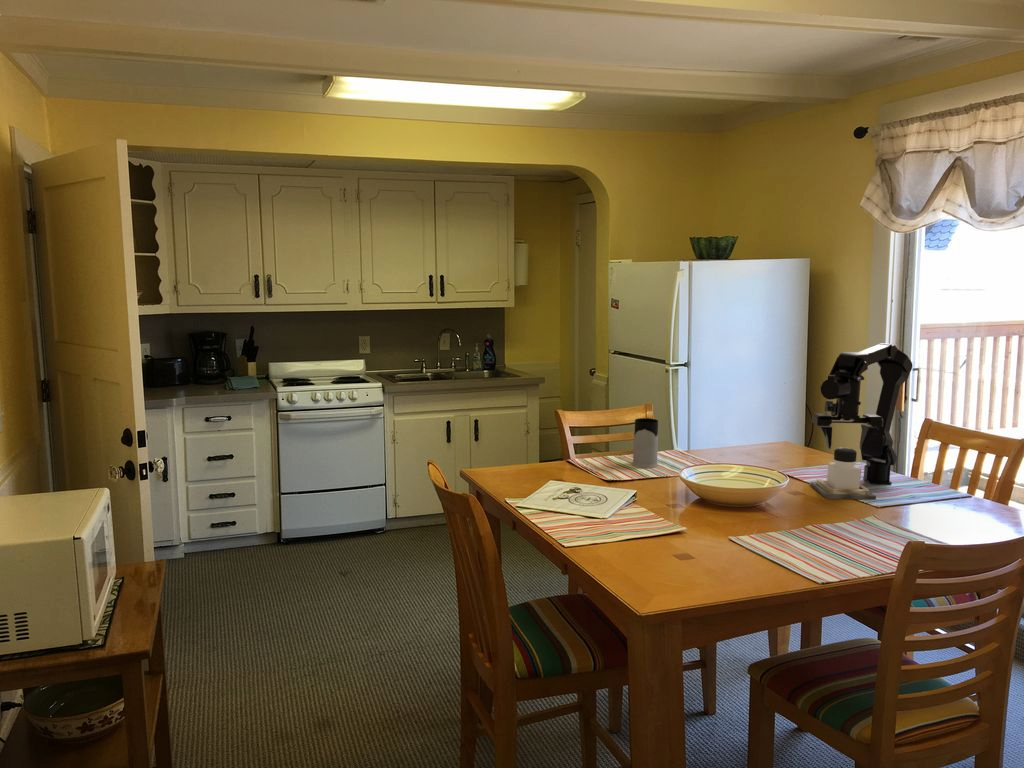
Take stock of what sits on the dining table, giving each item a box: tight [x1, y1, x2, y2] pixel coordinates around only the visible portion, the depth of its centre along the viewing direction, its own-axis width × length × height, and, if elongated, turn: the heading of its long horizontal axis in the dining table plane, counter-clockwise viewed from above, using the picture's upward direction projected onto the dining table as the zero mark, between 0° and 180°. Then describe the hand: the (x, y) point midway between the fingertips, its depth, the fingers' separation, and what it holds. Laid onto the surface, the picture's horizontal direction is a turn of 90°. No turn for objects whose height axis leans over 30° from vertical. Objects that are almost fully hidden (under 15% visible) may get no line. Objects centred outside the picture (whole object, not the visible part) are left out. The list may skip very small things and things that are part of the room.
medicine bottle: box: [826, 447, 862, 489], centre depth 241 cm, size 7×7×12 cm
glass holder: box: [631, 417, 659, 469], centre depth 273 cm, size 9×14×15 cm, turn 163°
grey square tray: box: [810, 478, 877, 500], centre depth 242 cm, size 14×14×2 cm
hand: (845, 448), depth 240 cm, fingers open, 9 cm apart
